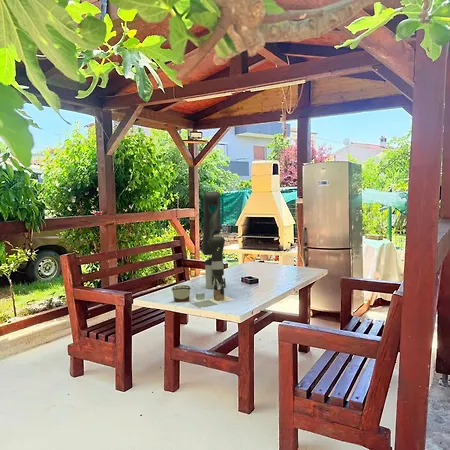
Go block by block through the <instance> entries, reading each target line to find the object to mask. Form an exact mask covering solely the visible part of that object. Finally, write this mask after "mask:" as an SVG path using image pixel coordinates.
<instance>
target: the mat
mask: <svg viewBox="0 0 450 450" xmlns="http://www.w3.org/2000/svg"><path fill="white" fill-rule="evenodd" d="M191 305H194V306H195V307H197V308H199V309H201V307H203V308H207V307H212V306H217V305H219V303H214V302H212V301H210V300H206V301H205V300H204V301H198V302H197V301H195V302H191Z"/></svg>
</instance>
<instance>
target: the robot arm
mask: <svg viewBox="0 0 450 450" xmlns="http://www.w3.org/2000/svg"><path fill="white" fill-rule="evenodd" d="M209 206H215V210H213V213H212V212H211V210H210V207H209ZM202 221H203V223H202V225H203V226H202V228H203V229H202V230H203V231H202V233H203V235H202V247H201V251H202V255H204V256H211V257H209V258H207V259H206V260H204V268H205V269H204V272H205V273H204V274H205V288H206V289H208V290H209V289H210V290H212V289H213V290H218V289H220V293H221V295H222V294H224V295H225V289H226V288H227V285H226V284H227V283H226V278H225V277H223V276H224V275H225V268H224V267H225V266H224V259H223V258H224V255H223V253H224V249H225V244H226V241H225V238H224V237H223V236H217V235H220V234H221V231H222V229H221V193H220V192H219V191H205V192H204V193H203V220H202ZM218 248H219V249H218Z"/></svg>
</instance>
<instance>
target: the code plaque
mask: <svg viewBox="0 0 450 450" xmlns="http://www.w3.org/2000/svg"><path fill="white" fill-rule="evenodd" d="M224 299H225V300H221V301H216V300H214V297H212V298H207V299H206V300H210V301H212V302H214V303H217V304H219V303H225V302H230V301H234V300H235V299H234V298H231V297H229V296H227V295H224ZM206 300H204V301H206Z"/></svg>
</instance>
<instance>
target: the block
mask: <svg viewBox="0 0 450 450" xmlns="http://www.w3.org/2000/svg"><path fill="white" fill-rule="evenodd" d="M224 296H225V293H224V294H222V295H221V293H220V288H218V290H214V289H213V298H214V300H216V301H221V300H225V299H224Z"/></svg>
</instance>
